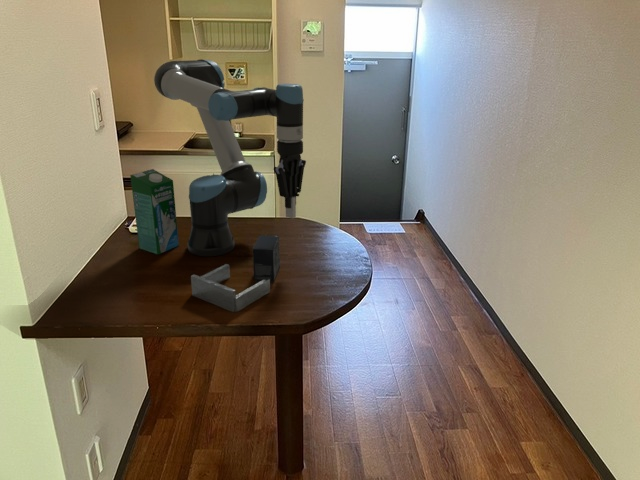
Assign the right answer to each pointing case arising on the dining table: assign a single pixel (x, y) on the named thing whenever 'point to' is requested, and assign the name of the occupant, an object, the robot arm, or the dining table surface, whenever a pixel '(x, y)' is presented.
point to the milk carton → (154, 211)
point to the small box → (266, 257)
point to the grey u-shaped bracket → (226, 290)
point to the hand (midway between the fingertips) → (290, 216)
